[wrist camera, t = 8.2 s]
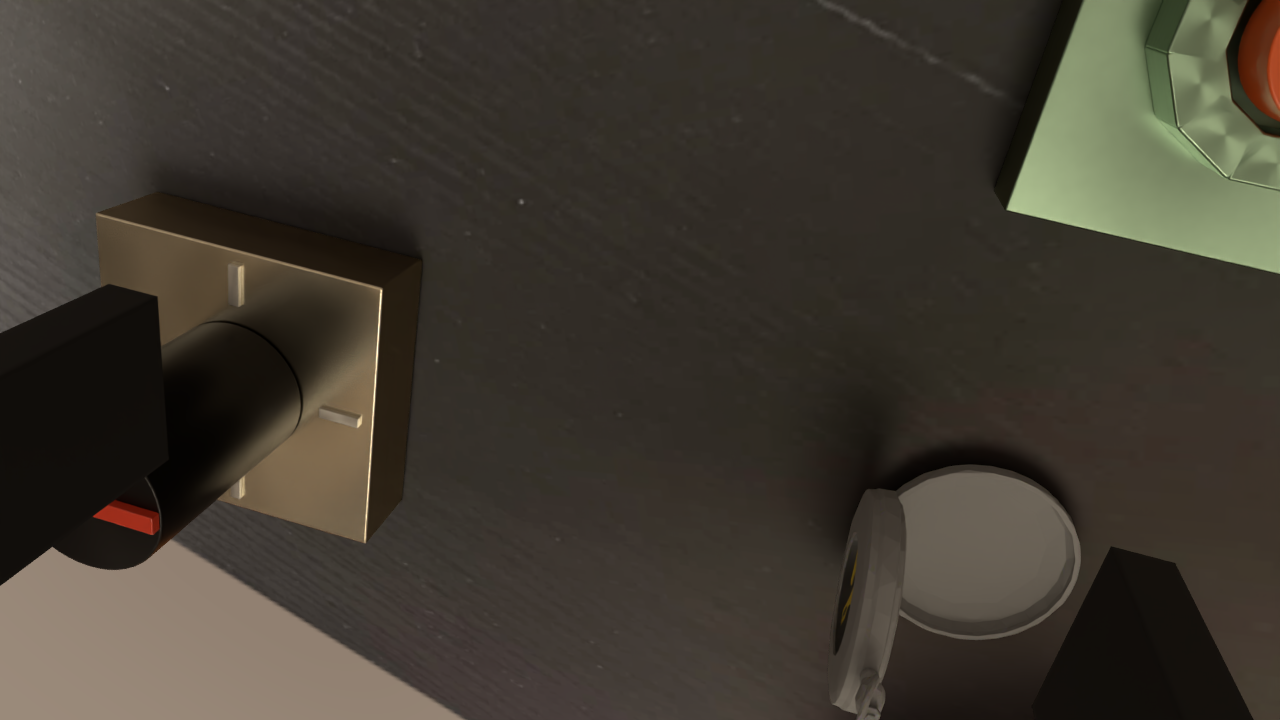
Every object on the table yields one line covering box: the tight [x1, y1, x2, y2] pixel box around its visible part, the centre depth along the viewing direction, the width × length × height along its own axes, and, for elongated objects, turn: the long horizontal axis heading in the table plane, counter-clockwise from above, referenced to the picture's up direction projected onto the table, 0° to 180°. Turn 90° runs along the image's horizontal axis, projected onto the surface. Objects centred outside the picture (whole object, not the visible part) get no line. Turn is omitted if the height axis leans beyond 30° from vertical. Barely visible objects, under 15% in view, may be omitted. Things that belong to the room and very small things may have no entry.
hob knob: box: [53, 322, 301, 570], centre depth 28 cm, size 5×5×7 cm
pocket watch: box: [828, 464, 1081, 720], centre depth 27 cm, size 8×8×10 cm
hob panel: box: [96, 192, 422, 543], centre depth 33 cm, size 10×10×3 cm
